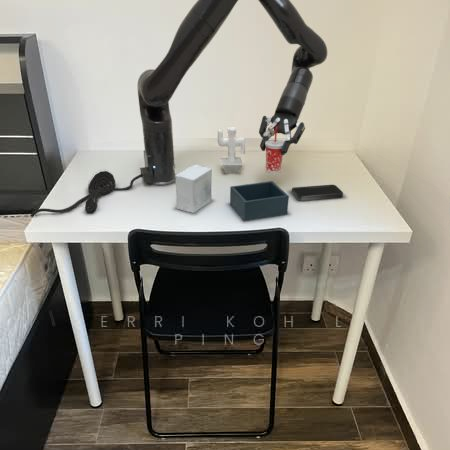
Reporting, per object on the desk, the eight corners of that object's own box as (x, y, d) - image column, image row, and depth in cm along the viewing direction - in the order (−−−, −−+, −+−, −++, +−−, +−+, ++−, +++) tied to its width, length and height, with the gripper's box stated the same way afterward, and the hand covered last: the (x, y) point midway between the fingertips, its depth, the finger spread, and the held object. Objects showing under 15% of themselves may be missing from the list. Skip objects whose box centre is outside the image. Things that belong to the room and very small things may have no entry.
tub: (244, 221, 130) (244, 202, 127) (229, 204, 139) (230, 186, 136) (287, 214, 134) (289, 195, 131) (270, 198, 143) (272, 180, 139)
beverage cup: (261, 168, 147) (264, 123, 139) (280, 167, 148) (284, 122, 139) (265, 175, 142) (268, 129, 134) (284, 174, 143) (288, 128, 134)
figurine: (245, 174, 158) (247, 130, 149) (218, 175, 157) (218, 131, 149) (243, 167, 164) (244, 124, 155) (216, 168, 163) (216, 124, 154)
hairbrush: (73, 204, 131) (91, 168, 151) (75, 216, 134) (93, 178, 153) (102, 205, 132) (116, 168, 151) (104, 216, 134) (118, 179, 153)
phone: (344, 194, 143) (298, 197, 141) (343, 197, 144) (298, 200, 141) (334, 184, 149) (290, 187, 147) (334, 187, 150) (290, 190, 148)
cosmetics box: (194, 214, 134) (193, 179, 127) (176, 209, 136) (174, 175, 130) (212, 200, 141) (212, 167, 135) (194, 196, 144) (193, 163, 137)
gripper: (267, 91, 140) (247, 141, 139) (311, 98, 135) (291, 150, 133) (273, 106, 147) (254, 153, 146) (315, 112, 141) (296, 162, 140)
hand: (272, 151), depth 140 cm, fingers closed on beverage cup, 6 cm apart
